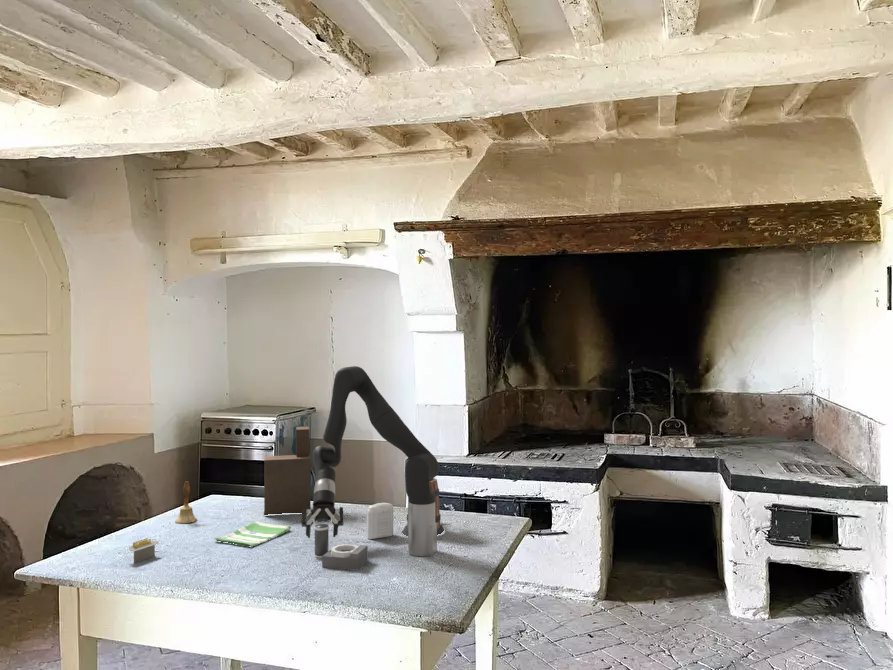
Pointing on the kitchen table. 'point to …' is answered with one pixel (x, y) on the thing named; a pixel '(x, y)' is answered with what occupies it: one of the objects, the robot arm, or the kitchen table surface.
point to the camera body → (346, 557)
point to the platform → (143, 549)
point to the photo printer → (379, 520)
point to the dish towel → (248, 539)
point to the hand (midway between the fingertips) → (321, 536)
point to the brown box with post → (288, 478)
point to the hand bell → (186, 508)
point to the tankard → (435, 490)
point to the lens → (321, 540)
